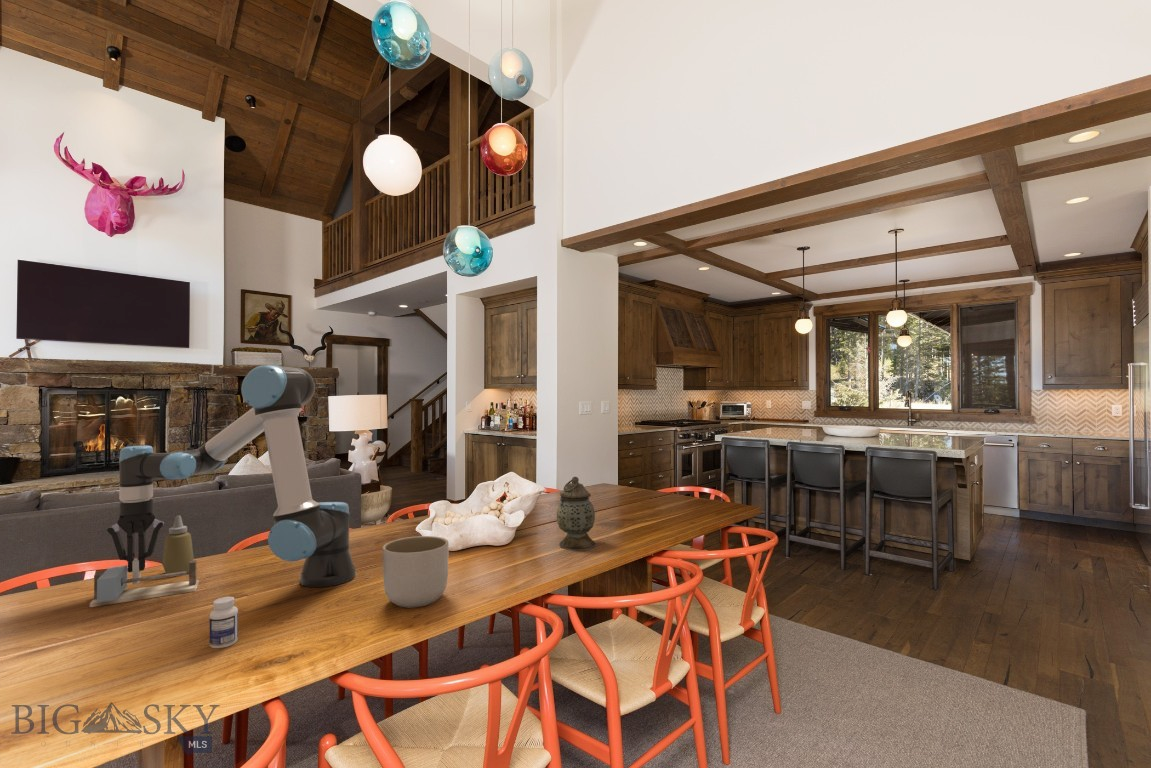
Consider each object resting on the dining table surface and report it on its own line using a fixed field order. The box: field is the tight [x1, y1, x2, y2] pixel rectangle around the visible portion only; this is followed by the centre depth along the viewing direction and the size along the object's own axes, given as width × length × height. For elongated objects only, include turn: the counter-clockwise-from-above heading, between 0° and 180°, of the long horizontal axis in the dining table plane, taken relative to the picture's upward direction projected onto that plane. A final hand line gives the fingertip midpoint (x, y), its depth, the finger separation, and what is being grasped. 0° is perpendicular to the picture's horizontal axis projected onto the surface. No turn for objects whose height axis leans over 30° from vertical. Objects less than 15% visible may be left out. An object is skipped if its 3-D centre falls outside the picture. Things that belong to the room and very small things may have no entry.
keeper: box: [97, 564, 128, 603], centre depth 149 cm, size 4×12×6 cm, turn 29°
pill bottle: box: [209, 596, 239, 649], centre depth 121 cm, size 5×5×10 cm
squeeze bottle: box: [161, 515, 195, 574], centre depth 171 cm, size 8×8×18 cm
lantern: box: [556, 476, 597, 551], centre depth 197 cm, size 14×14×25 cm
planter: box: [381, 535, 450, 609], centre depth 145 cm, size 17×17×15 cm
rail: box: [89, 559, 200, 608], centre depth 153 cm, size 23×8×8 cm, turn 119°
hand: (136, 582), depth 155 cm, fingers closed
